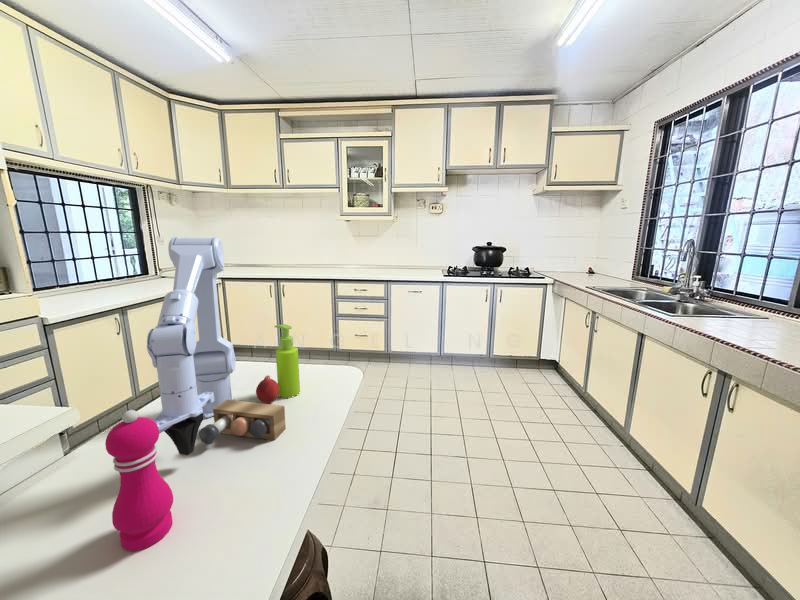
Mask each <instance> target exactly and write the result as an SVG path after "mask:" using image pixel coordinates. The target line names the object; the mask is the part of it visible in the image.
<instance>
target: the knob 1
mask: <svg viewBox="0 0 800 600" xmlns="http://www.w3.org/2000/svg"><path fill="white" fill-rule="evenodd" d="M230 424H231V419H230V417H228V416H223V417H222V418H221V419H219V420H218V421H217V422H215V423H213V424H212V423H211V424H210V423H209V424H207V425H205V426H204V427H202V428H201V429H200V430H198V437H199V440H200V441H201V442H202V443H203V444H206V445H210V444H212V443H213V442H215V441H216V440H217V439H219V436H220V434H221V433H220V432H221V431H223V430H224V429H225V428H227V427H228V426H229V425H230Z"/></svg>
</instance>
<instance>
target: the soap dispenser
mask: <svg viewBox="0 0 800 600" xmlns="http://www.w3.org/2000/svg"><path fill="white" fill-rule="evenodd" d="M274 328H279V329H282V330H281V331H282V336H281V337H280V338H279V348H277V349H276V350H275V360H276V375H277V384H278V385H279V388H280V391H279V395H280V396H281V397H280V396H279V395H278V396H279V397H280V398H282V397H291V398H293V397H292V396H295V395H297V394H298V395H299V394H300V393H299V392H301V387H300V384H301V383H300V368H299V367H300V366H299V349H298V347H296V346H294V343H293V341H294V340H293V336H291V335H290V330H291V329H293V327H292V325H288V324H285V323H282V324H278V325H274ZM298 395H297V396H298ZM295 397H296V396H295Z"/></svg>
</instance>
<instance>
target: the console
mask: <svg viewBox="0 0 800 600" xmlns="http://www.w3.org/2000/svg"><path fill="white" fill-rule="evenodd" d="M285 412H286V411H285V405H279V404H278V405H277V404H272V403H270V404H266V403H263V402H262V403H261V402H251V401H241V400H233V399H232V400H225V401H224V402H223V403H221V404H220V405H218V406H217V407H215V408H214V409H213V414H214V416H213V421H214V423H215V422H217V421H218V420H219V419H221V418H222V417H223V416H228V417H230V419H231V423H232V422H233V421H234V420H236V419H237V418H238V417H244V416H246V417H251V424H252V423H253V422H254V421H256V420H257V419H262V418H263V419H269V424H270V426H269V429H268V432H267V433H266V434H265V435H264V436H263V437H261V438H260V439H264V440H271V441H272V440H273V441H276V440H277V438H279V436H281V434H282V433H284V431H285V430H286V429H287V428H286V413H285ZM214 423H213V424H214ZM219 434H227V435H233V436H234V435H235V434H234V433H233V432H232V430H231V424H230V425H229V426H228V427H227V428H225V429H224V430H223V431H221V432H220V433H219ZM235 436H236V435H235ZM240 437H250V438H255V439H257V438H256V437H254V436H252V435H251V433H250V431H249V430H248V431H247V432H246V433H244V434H243V435H241V436H240Z"/></svg>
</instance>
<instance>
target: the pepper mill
mask: <svg viewBox="0 0 800 600" xmlns="http://www.w3.org/2000/svg"><path fill="white" fill-rule="evenodd" d="M121 420H122V421H121V422H118V423H117V424H116V425H115V426H113V427H112V428H111V429H110V431H109V432H108V433H107V436H106V439H105V445H104V446H105V450H106V452H107V454H108V455H110V456H111V457H113V459H112V463H113V465H114V466H113V468H114V470H115V471H117V472H119V477H120V478H119V479H120V482H119V483H120V485H119V491H118V493H117V497H116V500H115V502H114V504H113V509H112V513H111V518H112V519H111V520H112V525H113V527H114V529H116V531H118V532H119V540H120V546H121V547H122V549H124V550H125V551H129V552H136V551H141V550H144V549H147V548H149V547H152V546H154V545H155V544H156V543H158V542H159V541H160V540H162V539H164V538H165V536H166V535H167V534H168V533H169V532H170V530H171V528H172V527H173V524H174V523H173V516H172V515H173V514H172V511H171V508H172V507H173V503H174V495H173V490H172V489H171V487H170V485H169V484H168V482H166V480H165V479H164V478H163V477H162V476H161V474H160V472H159V471H158V468H157V465H156V459H157V458H158V455H159V451H158V445H156V443H157V442H158V440H159V438H160V434H159V428H158V426H157V424H156V423H155V421H153V420H154V419H151V418H150V417H146V416H145V417H144V416H140V417H139V414H138V412H137V410H135V409H134V410H133V409H130V410H127V411H125V412H124V413H122V416H121Z"/></svg>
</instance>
